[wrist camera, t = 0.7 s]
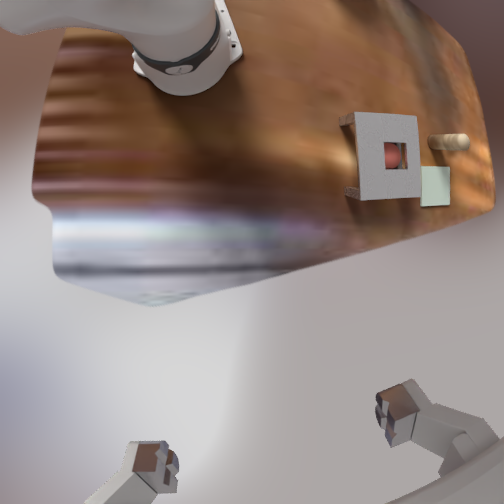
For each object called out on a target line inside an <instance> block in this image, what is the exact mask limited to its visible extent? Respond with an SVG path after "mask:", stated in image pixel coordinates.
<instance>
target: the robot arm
mask: <svg viewBox="0 0 504 504" xmlns="http://www.w3.org/2000/svg"><path fill="white" fill-rule="evenodd" d="M222 12H223V13H222ZM0 26H1V27H2V28H4V29H5V30H7V31H9V32H12V33H14V34H18V35H26V34H30V33H35V32H39V31H43V30H48V29H54V28H63V27H81V28H91V29H99V30H105V31H109V32H114V33H118V34H120V35H123V36H124V37H125V38H126V39H128V40H129V41H130V42H131V44H132V47H133V49H134V53H133V54H132V55H133V58H134V60H135V62H134V70H135V72H136V73H138V74H139V75H142V76H144V77H147V78H149V79H150V80H151V81H152V82H153V83H154V85H155V86H157V87H158V88H159V89H161V90H162V91H164V92H166V93H169V94H173V95H179V96H186V95H193V94H197V93H200V92H203V91H205V90H207V89H208V88H210V87H212V86H213V85H214V84H216V83H217V82H218V81H219V80H220V79H221V77H222V76H223V75H224V73H225V71H226V70H227V68H228V67H229V66H230V64H232V63H233V62H235V61H236V60H238V59H239V58H240V57H241V56H242V54H243V51H242V48H241V45H240V42H239V39H238V36H237V34H236V31H235V28H234V26H233V23H232V20H231V18H230V15H229V12H228V10H227V7H226V5H225V2H224V0H0ZM232 45H235V46H236V47H235V48H232V47H231V46H232ZM376 401H377V403H378V404H377V406H376V407H375V413H376V418H377V420H378V423H379V425H380V427H381V428H382V429H385V437H386V439H387V441H388V443H389V445H390V447H391V448H392V447H394V446H397V445H399V444H402V443H404V442H407V441H409V440H411V441H412V442H414V443H416V444H418V445H420V446H422V447H423V448H425V449H427V450H429V451H431V452H433V453H435V454H437V455H439V456H441V457H443V458H444V461H443V463H442V465H441V467H440V469H439V471H438V473H439V475H440V477H441V478H439V479H437V480H435V481H433V482H431V483H429V484H428V485H426V486H424V487H422V488H419V489H417V490H415V491H413V492H411V493H409V494H407V495H404V496H402V497H400V498H398V499H395V500H393V501H390V502H388V503H386V504H504V437H503V438H501V439H499V438H498V436H497V435H496V434H495V433H494V431H493V430H492V429H491V427H490V426H489V425H488V424H487V422H486V421H485V420H484V419H483V418H479V417H476V416H473V415H470V414H466V413H463V412H460V411H457V410H454V409H451V408H448V407H446V406H442V405H440V404H437V403H436V404H432V403H431V402H430V400H429V399H428V398H427V396H426V395H425V393H424V392H423V391H422V389H421V388H420V387H419V385H418V384H417V383H416V381H415V380H413V379H410V380H408V381H405V382H403V383H401V384H398V385H395V386H393V387H391V388H388V389H386V390H383V391H381V392H378V393H377V394H376ZM168 448H169V445H168V444H167V442H166V441H135V442H134V441H131V442H129V444H128V446H127V449H126V452H125V456H124V460H123V463H122V467H121V471H120V472H117V473H116V474H114V475H113V476H112V477H111V478H110V479H109V480H108V481H107V482H106V483H105V484H104V485H103V486H101V487H100V488H99V489H98V490H97V491H96V492H95V493H94V494H93V495H91V496H90V497H89V498H88V499H87V500H86V501H85V502H84V504H151V503H152V502H153V500H154V499H155V498H156V496H157V494H158V493H176V492H177V482H178V480H177V479H176V477H175V475H176V474H177V473H178V472H179V462H178V458H177V456H176V454H175V453H174V451H172V450H170V449H168Z"/></svg>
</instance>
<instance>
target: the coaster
mask: <svg viewBox="0 0 504 504" xmlns="http://www.w3.org/2000/svg"><path fill="white" fill-rule="evenodd" d="M420 171H421V197H420V206H436V205H450V167H437V166H420Z"/></svg>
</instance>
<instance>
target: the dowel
mask: <svg viewBox="0 0 504 504" xmlns="http://www.w3.org/2000/svg"><path fill="white" fill-rule="evenodd" d="M428 145H429V147H430V148H431V149H434V150H468V149H469V146H470V141H469V138H468V136H467V135H466V134H443V135H430V136H429V137H428Z"/></svg>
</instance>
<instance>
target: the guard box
mask: <svg viewBox="0 0 504 504" xmlns="http://www.w3.org/2000/svg"><path fill="white" fill-rule="evenodd" d="M352 124H354V131H355V142H356V154H357V169H358V187H359V188H356V187H352V186H350V187H344V194H345V195H346V196H349V197H352V198H355V199H358V200H376V199H392V198H410V197H421V171H420V151H419V137H418V126H417V116H410V115H399V114H385V113H367V112H353V113H350V114H347V115H345V116H342V117H339V126H349V125H352ZM384 142H387V143H392V144H394V145H396V146H397V147H398V149H399V150H400V153H401V143H404V148H405V166H406V169H402V154H401V160H400V163H399V165H398V166H397V167H395V168H392V169H385V154H384Z"/></svg>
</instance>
